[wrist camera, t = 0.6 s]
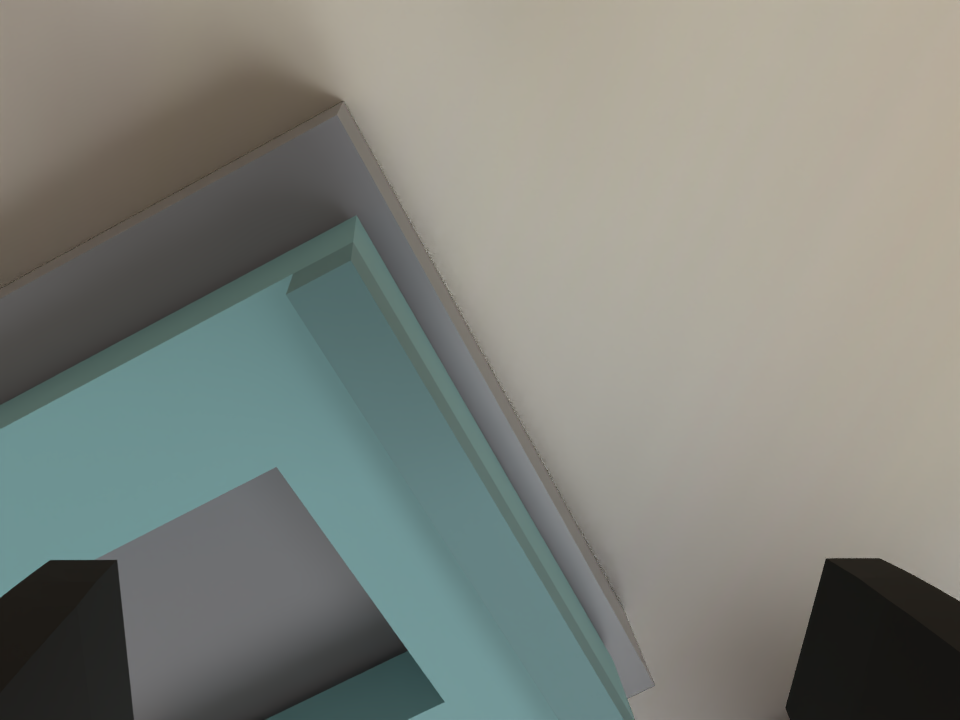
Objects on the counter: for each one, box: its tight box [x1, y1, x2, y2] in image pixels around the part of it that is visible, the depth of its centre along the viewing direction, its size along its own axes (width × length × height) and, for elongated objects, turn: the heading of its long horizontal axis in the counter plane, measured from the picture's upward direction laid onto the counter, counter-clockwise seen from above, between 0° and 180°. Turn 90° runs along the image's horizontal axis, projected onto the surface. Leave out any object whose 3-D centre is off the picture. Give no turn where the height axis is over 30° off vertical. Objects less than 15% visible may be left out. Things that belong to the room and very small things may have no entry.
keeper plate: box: [0, 215, 635, 720], centre depth 15 cm, size 11×10×3 cm
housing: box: [0, 101, 655, 720], centre depth 18 cm, size 14×18×2 cm
